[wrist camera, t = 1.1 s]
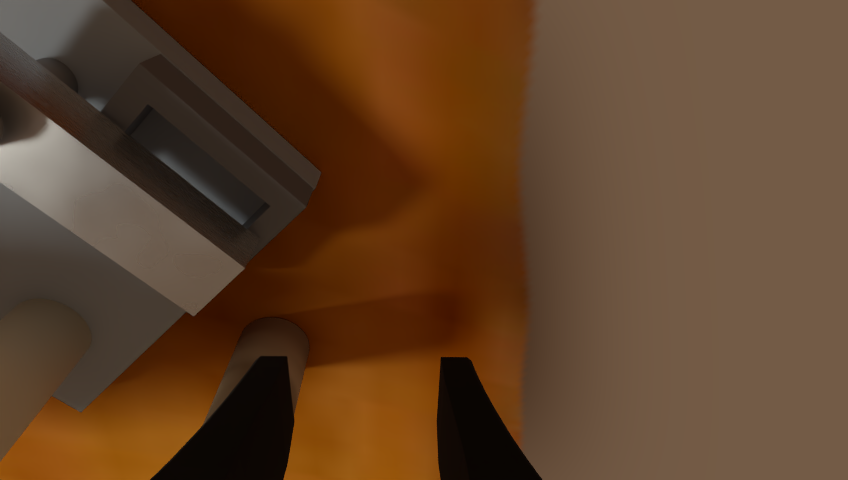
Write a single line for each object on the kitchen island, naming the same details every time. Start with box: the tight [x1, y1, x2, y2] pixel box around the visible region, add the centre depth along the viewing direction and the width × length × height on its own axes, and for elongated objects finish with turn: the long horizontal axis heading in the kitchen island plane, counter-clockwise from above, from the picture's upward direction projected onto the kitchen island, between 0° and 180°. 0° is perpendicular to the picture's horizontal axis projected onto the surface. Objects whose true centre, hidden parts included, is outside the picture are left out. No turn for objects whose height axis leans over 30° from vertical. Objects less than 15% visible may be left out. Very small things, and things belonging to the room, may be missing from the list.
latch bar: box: [0, 32, 259, 316], centre depth 15 cm, size 9×2×2 cm, turn 43°
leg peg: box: [203, 317, 309, 425], centre depth 21 cm, size 3×3×6 cm
